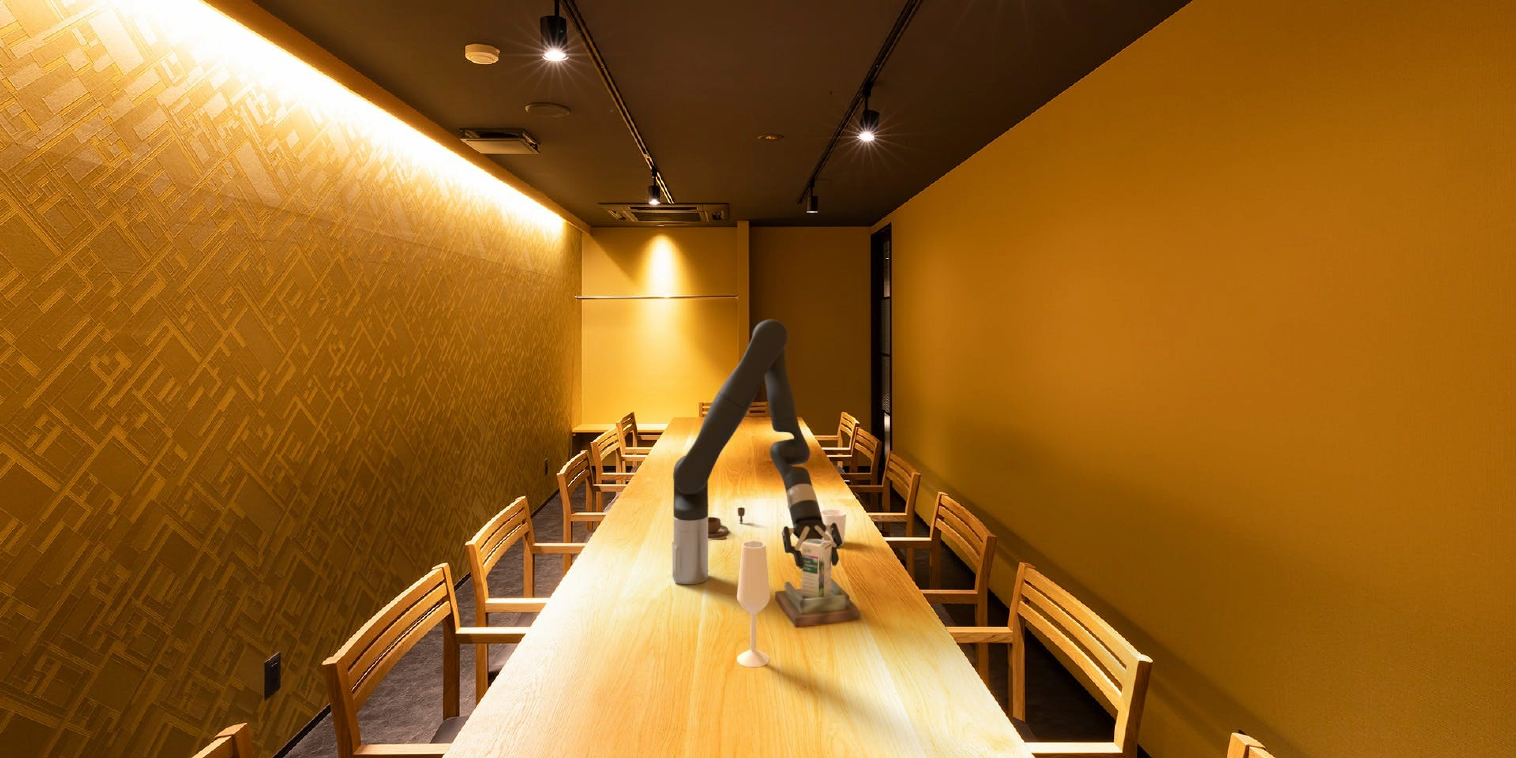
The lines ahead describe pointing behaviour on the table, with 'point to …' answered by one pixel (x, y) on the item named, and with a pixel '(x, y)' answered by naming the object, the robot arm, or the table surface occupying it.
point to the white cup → (835, 521)
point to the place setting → (720, 526)
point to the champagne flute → (753, 595)
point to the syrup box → (816, 568)
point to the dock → (817, 606)
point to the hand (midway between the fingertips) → (818, 565)
